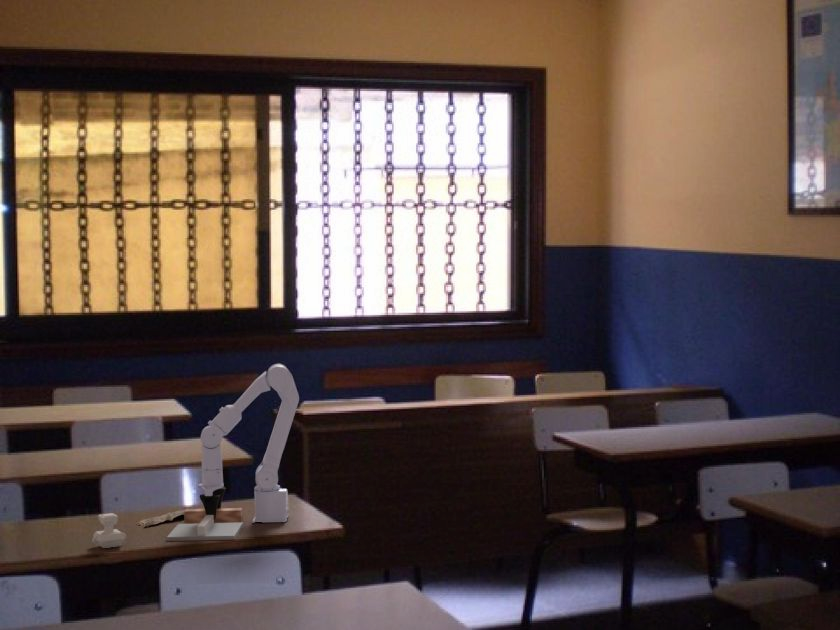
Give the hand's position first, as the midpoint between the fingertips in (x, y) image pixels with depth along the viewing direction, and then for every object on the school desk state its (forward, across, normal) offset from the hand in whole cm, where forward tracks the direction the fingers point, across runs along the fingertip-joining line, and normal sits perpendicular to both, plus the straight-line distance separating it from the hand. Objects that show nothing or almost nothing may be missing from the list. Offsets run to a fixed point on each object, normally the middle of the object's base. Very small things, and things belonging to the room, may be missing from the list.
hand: (213, 516), depth 360 cm
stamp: (+2, +26, -23) cm, 35 cm away
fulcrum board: (+2, +13, 0) cm, 13 cm away
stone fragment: (+3, -5, -14) cm, 15 cm away
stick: (+2, 0, 0) cm, 2 cm away
